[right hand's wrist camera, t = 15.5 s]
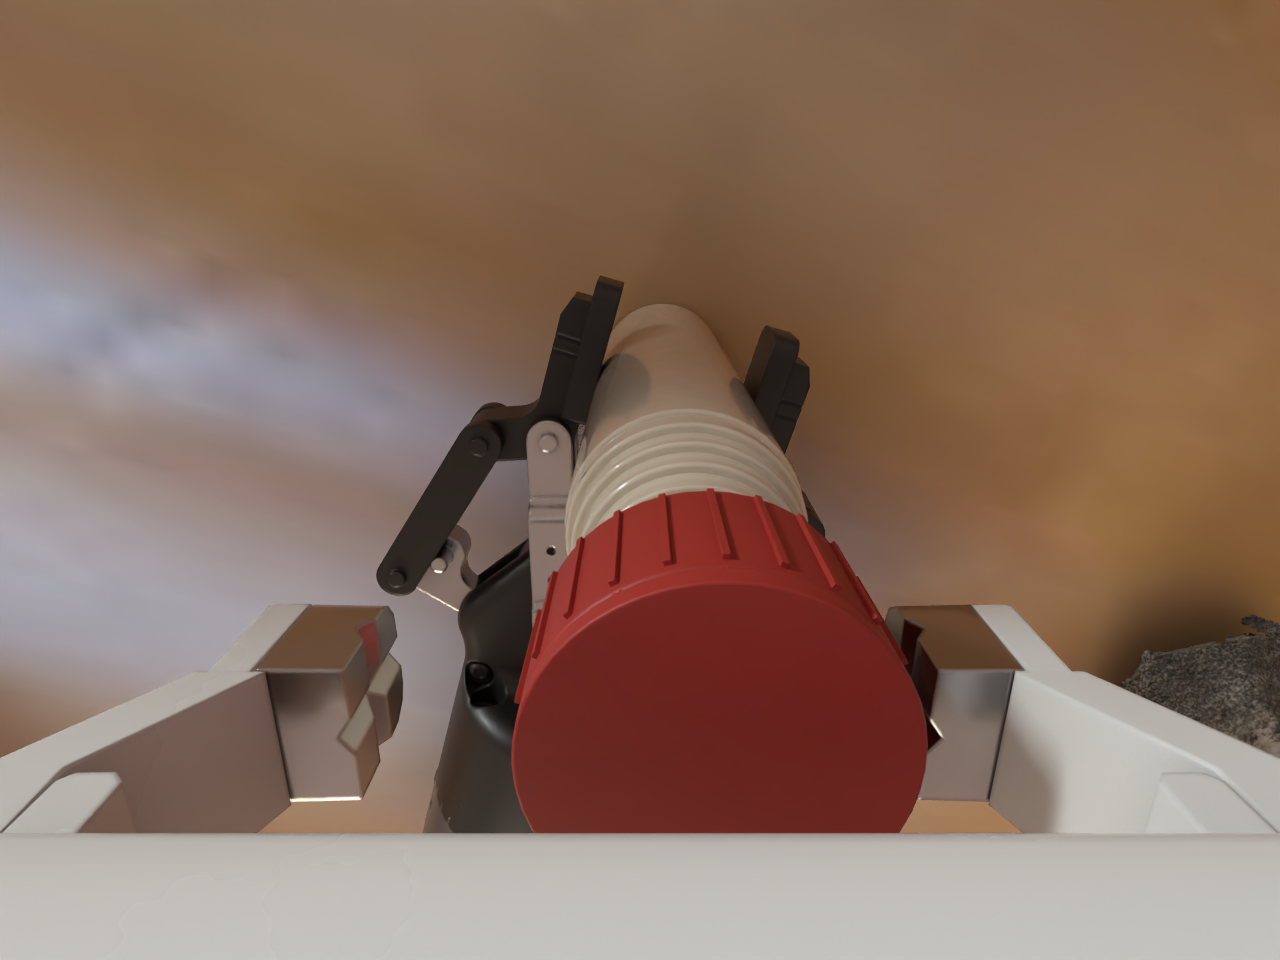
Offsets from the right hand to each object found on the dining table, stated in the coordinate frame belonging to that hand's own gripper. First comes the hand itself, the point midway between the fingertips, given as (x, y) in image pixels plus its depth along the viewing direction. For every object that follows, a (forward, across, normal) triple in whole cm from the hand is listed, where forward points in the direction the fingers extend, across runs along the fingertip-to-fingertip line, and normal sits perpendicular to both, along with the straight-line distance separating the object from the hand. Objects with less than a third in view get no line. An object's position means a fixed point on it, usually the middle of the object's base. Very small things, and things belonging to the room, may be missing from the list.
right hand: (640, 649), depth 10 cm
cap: (-2, -1, 0) cm, 3 cm away
